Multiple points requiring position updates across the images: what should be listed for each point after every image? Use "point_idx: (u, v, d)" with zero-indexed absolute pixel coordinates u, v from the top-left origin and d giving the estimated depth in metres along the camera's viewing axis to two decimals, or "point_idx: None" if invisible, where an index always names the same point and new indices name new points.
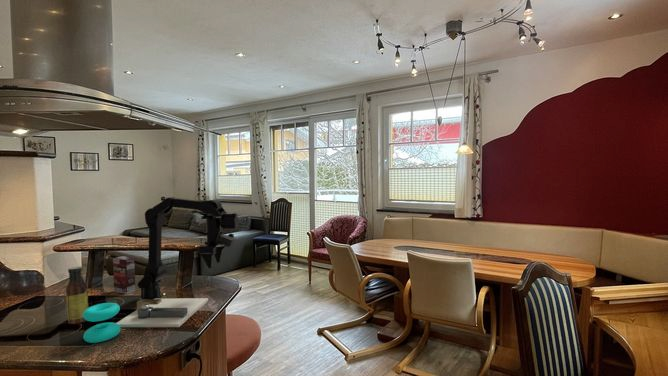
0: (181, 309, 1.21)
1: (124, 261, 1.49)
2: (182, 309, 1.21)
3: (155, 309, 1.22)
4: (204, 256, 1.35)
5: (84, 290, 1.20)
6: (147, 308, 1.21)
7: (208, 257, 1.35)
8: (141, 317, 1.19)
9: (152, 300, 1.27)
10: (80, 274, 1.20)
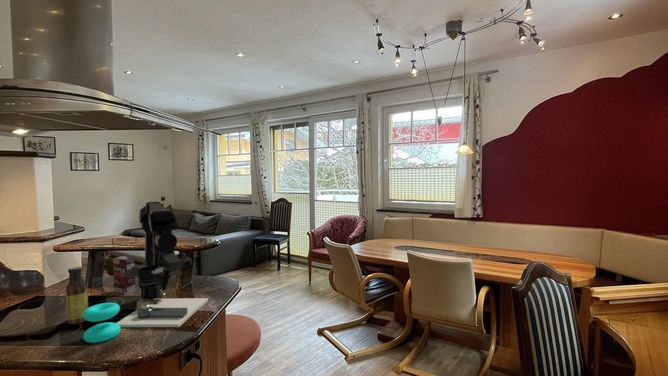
0: (181, 309, 1.21)
1: (124, 261, 1.49)
2: (182, 309, 1.21)
3: (155, 309, 1.22)
4: (155, 275, 1.14)
5: (84, 290, 1.20)
6: (147, 308, 1.21)
7: None
8: (141, 317, 1.19)
9: (152, 300, 1.27)
10: (80, 274, 1.20)
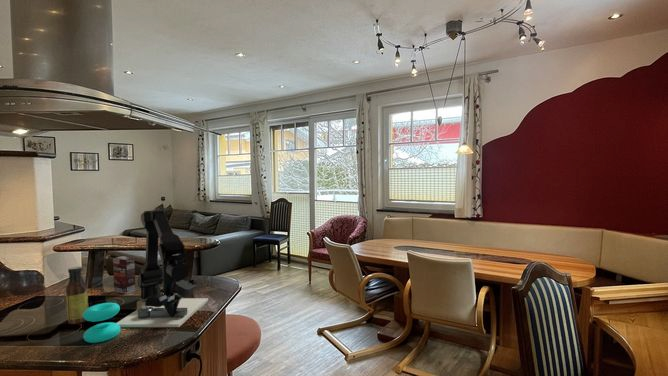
0: (181, 309, 1.21)
1: (124, 261, 1.49)
2: (182, 309, 1.21)
3: (155, 309, 1.22)
4: (164, 303, 1.17)
5: (84, 290, 1.20)
6: (147, 308, 1.21)
7: (169, 305, 1.17)
8: (141, 317, 1.19)
9: None
10: (80, 274, 1.20)
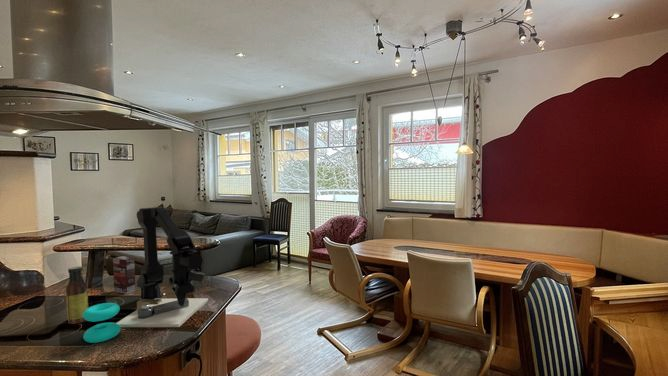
0: None
1: (124, 261, 1.49)
2: None
3: (156, 306, 1.24)
4: None
5: (84, 290, 1.20)
6: (149, 307, 1.22)
7: (182, 294, 1.27)
8: (147, 316, 1.20)
9: (152, 300, 1.27)
10: (80, 274, 1.20)
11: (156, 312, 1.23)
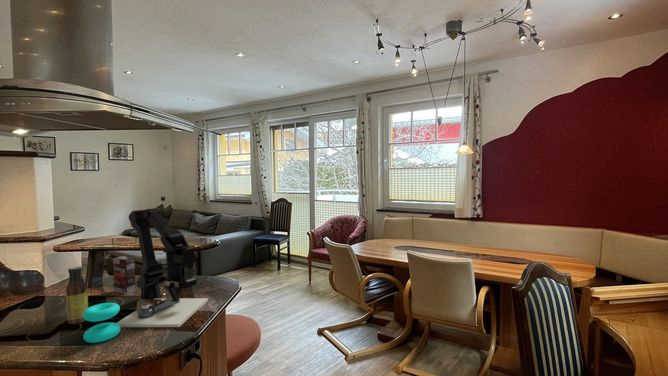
0: None
1: (124, 261, 1.49)
2: None
3: (154, 305, 1.25)
4: (175, 290, 1.30)
5: (84, 290, 1.20)
6: None
7: (177, 290, 1.32)
8: (150, 315, 1.21)
9: (152, 300, 1.27)
10: (80, 274, 1.20)
11: (156, 310, 1.25)
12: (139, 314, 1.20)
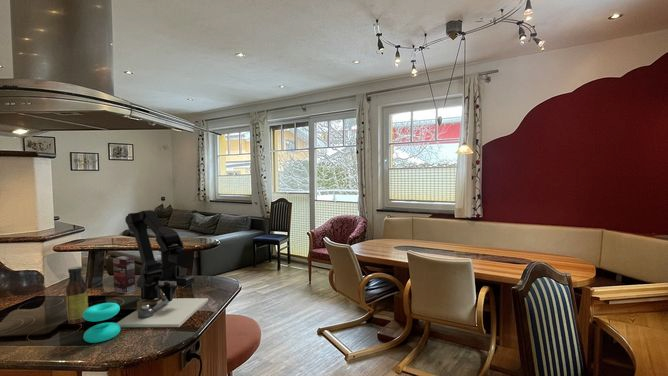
0: None
1: (124, 261, 1.49)
2: None
3: (151, 305, 1.26)
4: (171, 289, 1.32)
5: (84, 290, 1.20)
6: None
7: (172, 289, 1.34)
8: (152, 314, 1.22)
9: (152, 300, 1.27)
10: (80, 274, 1.20)
11: (154, 310, 1.25)
12: (141, 314, 1.19)
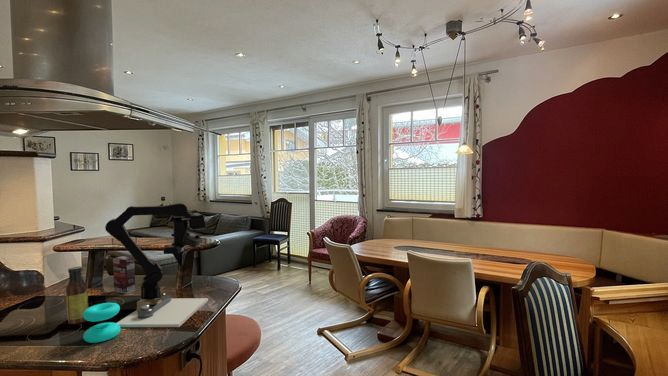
0: (166, 296, 1.36)
1: (124, 261, 1.49)
2: (166, 296, 1.36)
3: (151, 305, 1.26)
4: (175, 254, 1.46)
5: (84, 290, 1.20)
6: None
7: (179, 255, 1.46)
8: (152, 314, 1.22)
9: (152, 300, 1.27)
10: (80, 274, 1.20)
11: (154, 310, 1.25)
12: (141, 314, 1.19)
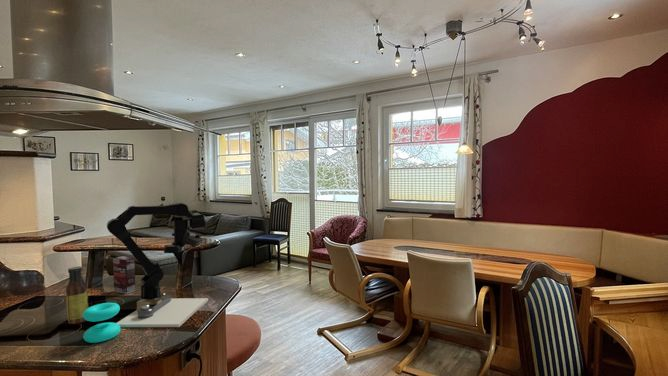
0: (166, 296, 1.36)
1: (124, 261, 1.49)
2: (166, 296, 1.36)
3: (151, 305, 1.26)
4: (175, 253, 1.48)
5: (84, 290, 1.20)
6: None
7: (179, 254, 1.48)
8: (152, 314, 1.22)
9: (152, 300, 1.27)
10: (80, 274, 1.20)
11: (154, 310, 1.25)
12: (141, 314, 1.19)
